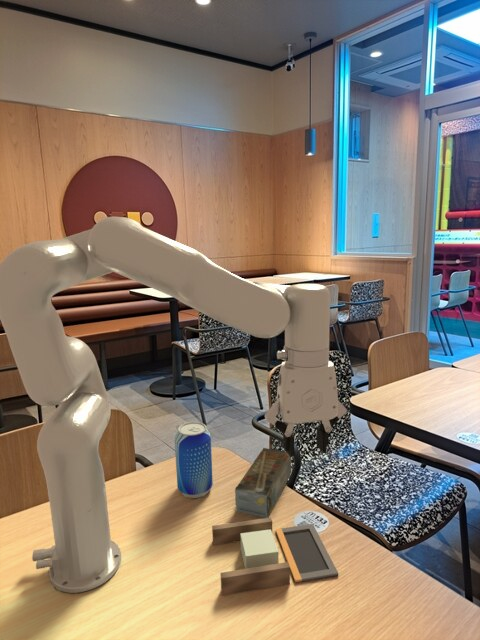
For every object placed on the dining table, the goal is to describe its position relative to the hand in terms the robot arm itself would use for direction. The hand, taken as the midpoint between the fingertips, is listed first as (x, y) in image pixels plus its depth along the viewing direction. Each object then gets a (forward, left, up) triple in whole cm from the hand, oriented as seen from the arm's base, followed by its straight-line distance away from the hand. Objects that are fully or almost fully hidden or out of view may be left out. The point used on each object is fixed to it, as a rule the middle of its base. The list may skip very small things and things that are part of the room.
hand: (305, 450), depth 79 cm
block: (-9, 0, -22) cm, 23 cm away
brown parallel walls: (-11, 0, -21) cm, 24 cm away
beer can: (-19, +25, -22) cm, 38 cm away
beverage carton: (-3, +21, -22) cm, 30 cm away
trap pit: (0, 0, -21) cm, 21 cm away
